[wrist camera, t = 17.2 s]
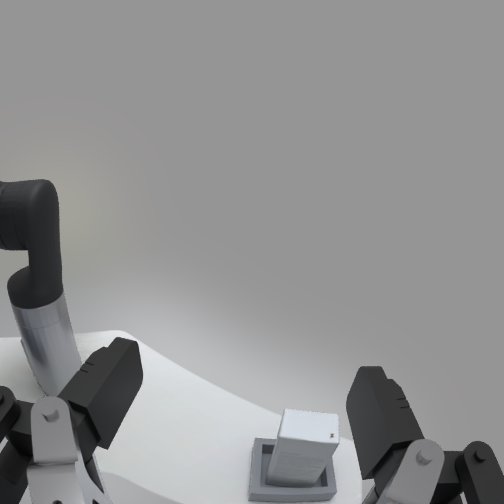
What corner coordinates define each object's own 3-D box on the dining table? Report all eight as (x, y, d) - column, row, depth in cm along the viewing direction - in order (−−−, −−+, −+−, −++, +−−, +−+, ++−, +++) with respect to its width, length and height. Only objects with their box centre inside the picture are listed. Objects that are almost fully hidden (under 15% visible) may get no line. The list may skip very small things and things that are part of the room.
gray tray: (248, 500, 23) (250, 493, 22) (252, 448, 31) (255, 437, 30) (329, 500, 22) (336, 492, 22) (323, 450, 31) (329, 439, 30)
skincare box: (313, 464, 28) (340, 413, 24) (311, 490, 24) (341, 443, 20) (269, 459, 29) (284, 406, 25) (263, 484, 25) (278, 437, 21)
